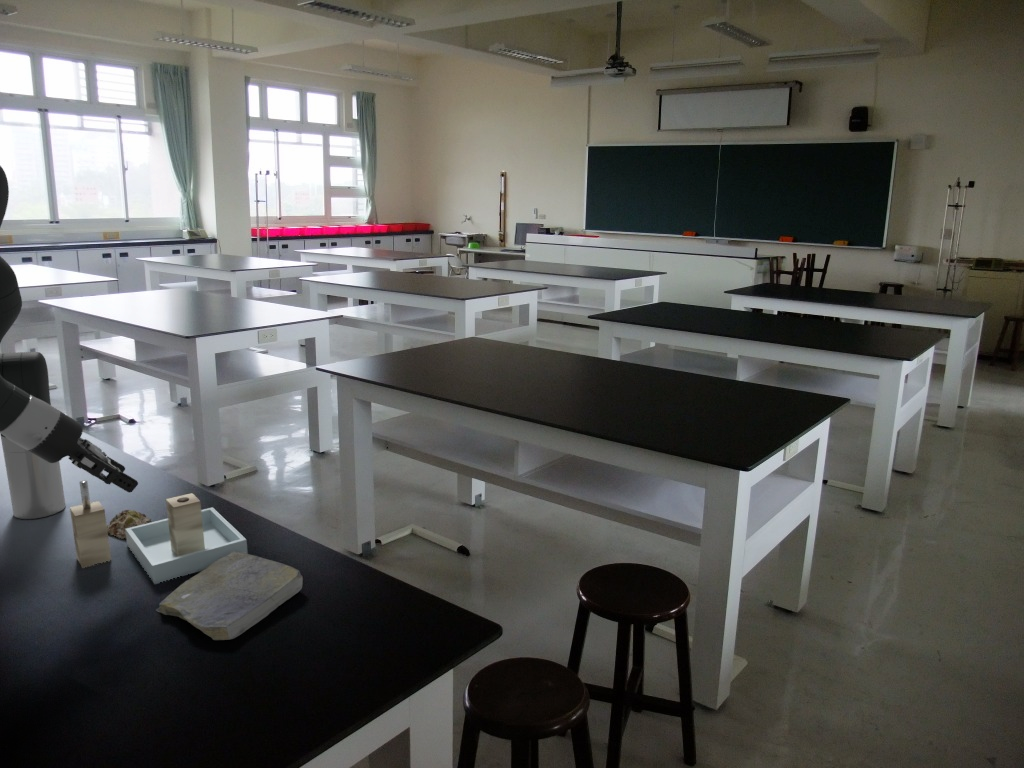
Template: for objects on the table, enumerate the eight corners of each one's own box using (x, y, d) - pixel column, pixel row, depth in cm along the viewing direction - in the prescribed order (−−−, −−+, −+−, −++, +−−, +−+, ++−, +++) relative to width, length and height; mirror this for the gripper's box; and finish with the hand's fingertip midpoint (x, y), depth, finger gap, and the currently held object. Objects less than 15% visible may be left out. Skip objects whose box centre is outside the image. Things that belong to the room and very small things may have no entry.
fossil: (140, 627, 118) (222, 649, 111) (136, 599, 117) (218, 620, 110) (236, 574, 136) (312, 590, 128) (233, 550, 135) (309, 565, 127)
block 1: (77, 558, 136) (66, 480, 133) (105, 551, 139) (95, 475, 135) (82, 568, 133) (71, 489, 129) (111, 560, 136) (100, 482, 132)
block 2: (171, 549, 139) (165, 498, 136) (197, 542, 142) (192, 492, 139) (178, 559, 135) (173, 506, 133) (205, 551, 138) (200, 500, 136)
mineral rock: (97, 516, 149) (138, 497, 153) (106, 533, 151) (147, 514, 155) (108, 537, 141) (151, 517, 145) (118, 556, 143) (160, 535, 146)
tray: (127, 545, 141) (125, 528, 140) (214, 523, 151) (212, 507, 150) (154, 584, 128) (152, 565, 127) (247, 557, 138) (246, 539, 137)
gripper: (66, 420, 115) (154, 474, 125) (49, 400, 126) (132, 450, 136) (31, 460, 113) (123, 511, 123) (17, 436, 124) (102, 485, 134)
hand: (127, 479), depth 129 cm, fingers open, 8 cm apart
